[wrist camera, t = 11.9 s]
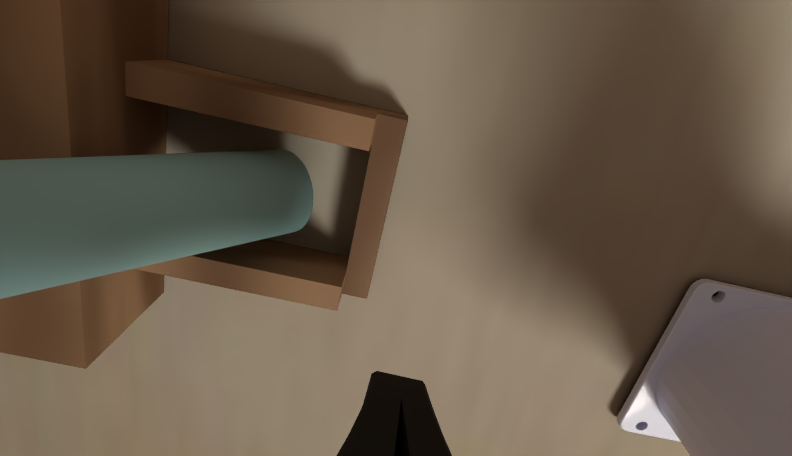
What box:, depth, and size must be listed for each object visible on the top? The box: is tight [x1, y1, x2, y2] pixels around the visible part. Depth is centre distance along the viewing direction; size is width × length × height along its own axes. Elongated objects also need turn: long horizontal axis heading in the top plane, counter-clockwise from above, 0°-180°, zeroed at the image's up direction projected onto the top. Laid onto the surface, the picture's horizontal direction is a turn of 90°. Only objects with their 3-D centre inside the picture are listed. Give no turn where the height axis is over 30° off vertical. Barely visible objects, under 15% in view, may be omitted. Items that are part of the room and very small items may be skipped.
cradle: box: [0, 0, 408, 369], centre depth 14 cm, size 12×12×5 cm
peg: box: [0, 150, 313, 299], centre depth 12 cm, size 3×3×8 cm
